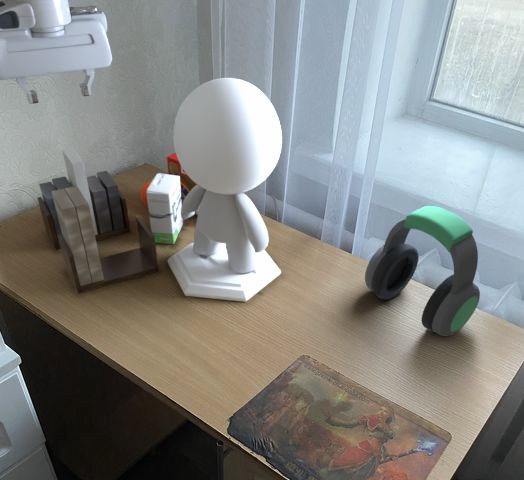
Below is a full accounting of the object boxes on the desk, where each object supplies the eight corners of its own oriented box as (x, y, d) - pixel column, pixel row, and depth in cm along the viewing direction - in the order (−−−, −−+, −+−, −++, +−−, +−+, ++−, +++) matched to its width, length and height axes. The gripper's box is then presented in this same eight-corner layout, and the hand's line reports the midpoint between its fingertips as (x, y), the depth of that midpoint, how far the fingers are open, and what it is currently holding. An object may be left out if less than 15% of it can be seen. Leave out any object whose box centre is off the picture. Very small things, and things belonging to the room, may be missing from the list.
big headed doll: (296, 261, 110) (315, 80, 86) (226, 317, 97) (225, 120, 72) (221, 228, 118) (219, 54, 94) (147, 275, 105) (122, 86, 80)
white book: (87, 237, 112) (71, 163, 101) (78, 221, 116) (62, 149, 105) (97, 234, 113) (83, 161, 102) (88, 219, 117) (73, 147, 106)
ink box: (174, 245, 113) (169, 193, 105) (151, 242, 113) (145, 191, 105) (183, 224, 119) (180, 174, 111) (162, 222, 119) (157, 172, 111)
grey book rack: (55, 250, 110) (42, 199, 102) (46, 231, 115) (32, 181, 107) (130, 232, 116) (123, 182, 108) (118, 215, 121) (110, 166, 113)
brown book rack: (77, 293, 100) (57, 211, 88) (66, 270, 105) (45, 190, 93) (158, 271, 106) (149, 191, 94) (144, 250, 111) (133, 173, 99)
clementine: (141, 201, 126) (137, 172, 121) (170, 198, 127) (168, 170, 122) (144, 218, 120) (140, 189, 115) (175, 215, 122) (172, 186, 117)
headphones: (355, 296, 103) (375, 201, 89) (392, 276, 108) (416, 183, 94) (436, 350, 93) (472, 253, 79) (472, 325, 98) (512, 229, 84)
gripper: (98, 0, 92) (111, 85, 102) (-29, 10, 85) (-2, 101, 94) (110, 8, 89) (122, 96, 98) (-22, 19, 81) (5, 113, 91)
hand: (60, 98), depth 96 cm, fingers open, 8 cm apart
